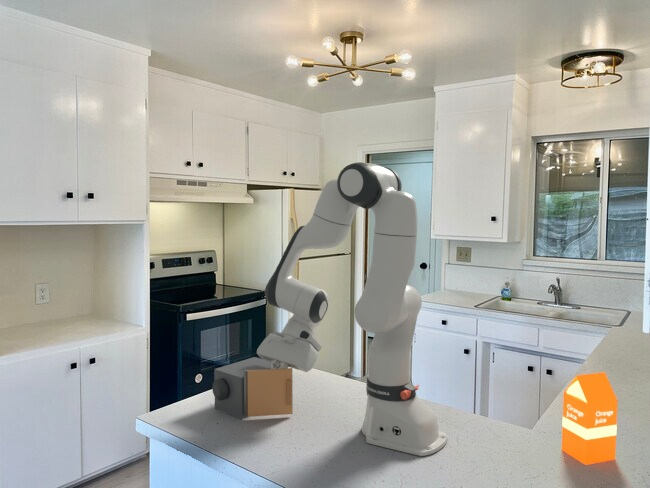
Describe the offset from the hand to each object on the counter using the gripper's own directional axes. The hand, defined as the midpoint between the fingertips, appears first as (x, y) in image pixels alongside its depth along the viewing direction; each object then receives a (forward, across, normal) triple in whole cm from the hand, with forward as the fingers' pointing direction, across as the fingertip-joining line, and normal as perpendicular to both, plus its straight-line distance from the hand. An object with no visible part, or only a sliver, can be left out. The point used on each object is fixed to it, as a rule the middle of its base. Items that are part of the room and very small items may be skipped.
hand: (272, 376), depth 142 cm
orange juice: (-15, +75, +32) cm, 83 cm away
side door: (+9, +1, +5) cm, 11 cm away
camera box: (+8, -11, +8) cm, 16 cm away
